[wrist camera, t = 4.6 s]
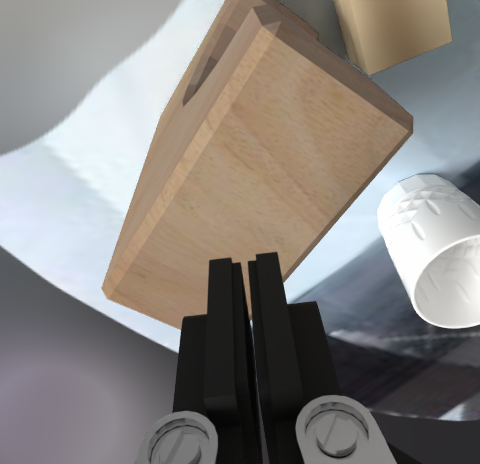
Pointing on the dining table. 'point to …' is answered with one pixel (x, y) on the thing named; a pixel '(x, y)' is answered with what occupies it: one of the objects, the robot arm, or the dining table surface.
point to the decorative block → (249, 160)
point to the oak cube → (391, 30)
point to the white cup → (435, 248)
